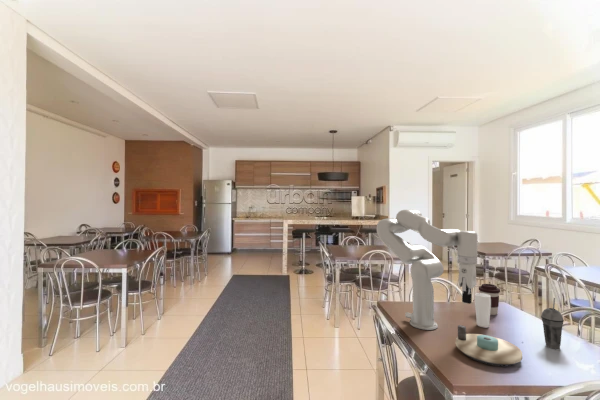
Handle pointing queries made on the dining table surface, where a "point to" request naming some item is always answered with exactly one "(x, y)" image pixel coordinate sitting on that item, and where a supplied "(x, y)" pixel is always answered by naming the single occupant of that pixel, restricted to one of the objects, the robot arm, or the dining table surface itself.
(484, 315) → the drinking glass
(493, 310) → the coffee cup
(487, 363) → the base
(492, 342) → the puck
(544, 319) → the beverage cup
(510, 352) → the turntable plate
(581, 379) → the dining table surface
